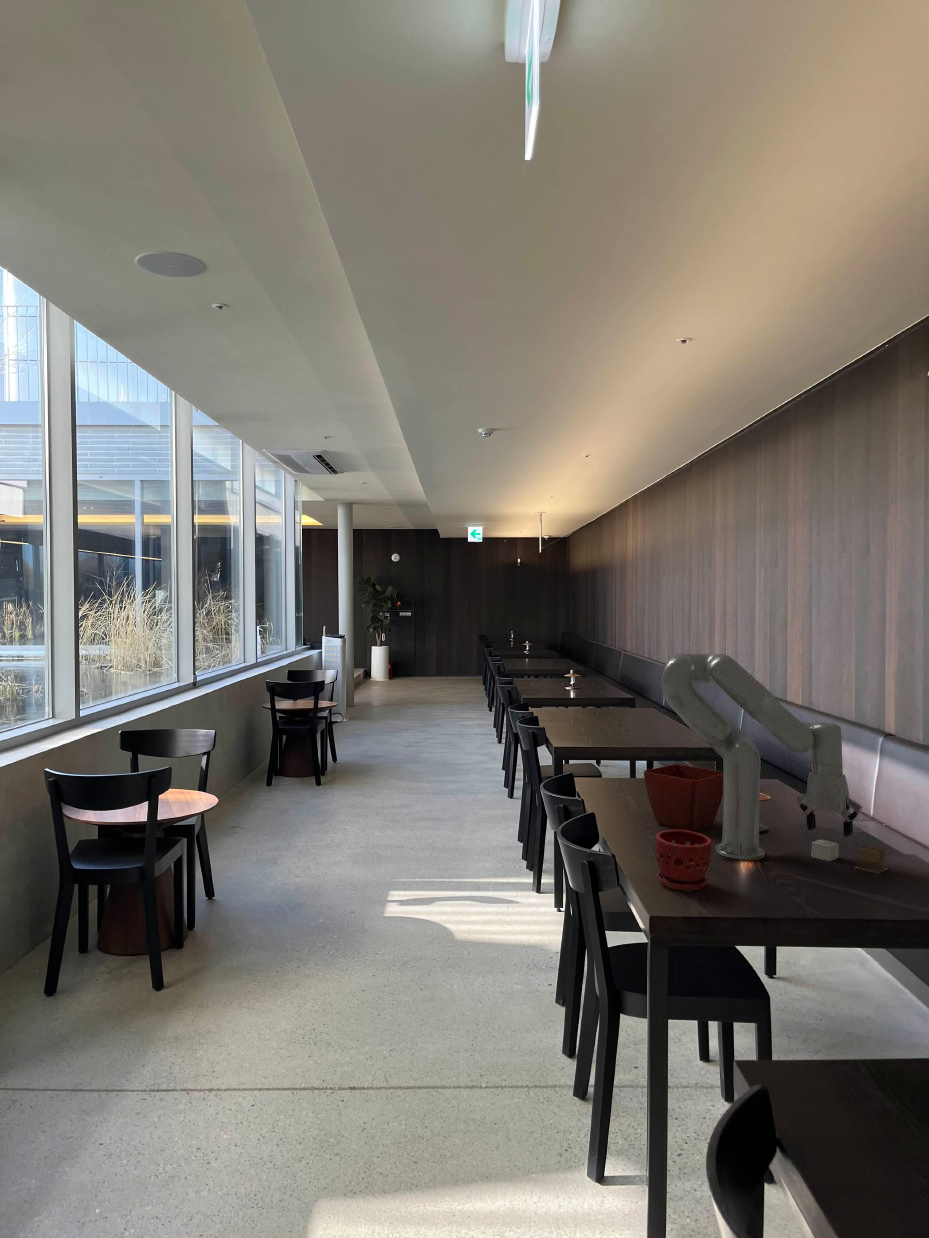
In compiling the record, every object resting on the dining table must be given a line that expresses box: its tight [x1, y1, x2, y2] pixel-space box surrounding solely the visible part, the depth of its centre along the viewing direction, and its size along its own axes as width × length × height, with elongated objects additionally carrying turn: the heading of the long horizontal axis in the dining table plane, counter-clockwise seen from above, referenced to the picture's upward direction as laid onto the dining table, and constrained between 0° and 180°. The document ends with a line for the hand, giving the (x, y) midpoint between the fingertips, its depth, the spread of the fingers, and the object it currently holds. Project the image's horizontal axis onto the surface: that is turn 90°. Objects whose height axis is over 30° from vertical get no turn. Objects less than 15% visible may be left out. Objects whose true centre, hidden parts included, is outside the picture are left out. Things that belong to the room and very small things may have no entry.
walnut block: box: [856, 844, 886, 873], centre depth 207 cm, size 5×5×5 cm
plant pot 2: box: [655, 829, 712, 892], centre depth 196 cm, size 13×13×12 cm
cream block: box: [810, 839, 840, 862], centre depth 217 cm, size 5×5×5 cm
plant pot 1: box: [643, 763, 723, 832], centre depth 253 cm, size 19×19×17 cm
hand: (829, 832), depth 216 cm, fingers open, 9 cm apart
